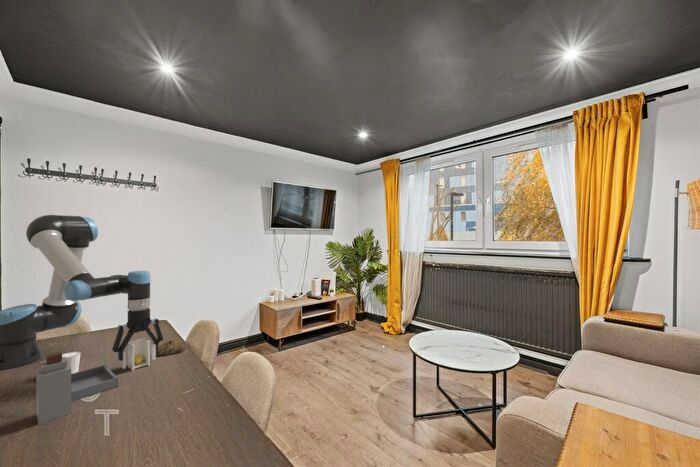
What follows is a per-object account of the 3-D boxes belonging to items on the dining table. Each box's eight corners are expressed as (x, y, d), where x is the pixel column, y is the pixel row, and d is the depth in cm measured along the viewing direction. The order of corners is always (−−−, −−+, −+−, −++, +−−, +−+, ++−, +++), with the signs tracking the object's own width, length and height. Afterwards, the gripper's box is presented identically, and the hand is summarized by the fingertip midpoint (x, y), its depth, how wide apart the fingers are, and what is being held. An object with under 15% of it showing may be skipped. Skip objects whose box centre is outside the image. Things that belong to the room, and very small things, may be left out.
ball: (132, 364, 121) (132, 356, 122) (141, 362, 124) (141, 354, 124) (135, 365, 119) (134, 356, 120) (144, 362, 122) (143, 354, 122)
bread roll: (183, 354, 134) (183, 343, 134) (151, 358, 130) (151, 347, 130) (187, 344, 146) (187, 334, 146) (158, 348, 142) (158, 337, 142)
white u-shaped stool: (127, 366, 121) (127, 342, 121) (144, 361, 126) (144, 338, 126) (132, 370, 117) (132, 345, 117) (149, 365, 122) (150, 341, 122)
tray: (48, 388, 104) (48, 380, 104) (104, 372, 116) (104, 364, 116) (56, 406, 93) (56, 396, 93) (118, 386, 105) (118, 378, 105)
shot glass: (65, 377, 112) (65, 359, 112) (51, 375, 113) (51, 357, 113) (85, 369, 119) (85, 352, 119) (71, 368, 120) (71, 350, 120)
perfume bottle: (67, 405, 93) (67, 348, 93) (71, 413, 89) (71, 353, 89) (36, 415, 88) (36, 354, 88) (38, 424, 84) (38, 360, 84)
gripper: (107, 316, 111) (106, 376, 110) (172, 305, 128) (172, 356, 128) (101, 312, 115) (101, 370, 115) (165, 302, 133) (165, 352, 132)
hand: (138, 363), depth 121 cm, fingers open, 10 cm apart
